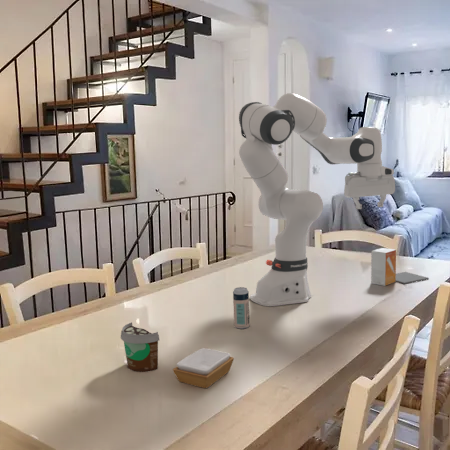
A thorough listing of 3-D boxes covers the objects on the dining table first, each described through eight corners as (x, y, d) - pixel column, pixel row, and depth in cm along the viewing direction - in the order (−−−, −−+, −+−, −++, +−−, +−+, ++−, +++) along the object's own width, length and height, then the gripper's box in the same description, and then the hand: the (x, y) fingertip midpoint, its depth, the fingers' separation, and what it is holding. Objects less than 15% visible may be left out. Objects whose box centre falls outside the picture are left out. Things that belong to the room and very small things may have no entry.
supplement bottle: (246, 323, 161) (244, 286, 160) (252, 328, 157) (251, 289, 155) (231, 325, 160) (230, 288, 158) (237, 330, 155) (236, 291, 154)
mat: (404, 284, 199) (404, 282, 199) (381, 277, 209) (381, 276, 209) (428, 279, 204) (428, 277, 204) (405, 273, 215) (405, 271, 215)
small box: (385, 286, 197) (385, 252, 195) (370, 283, 201) (370, 250, 200) (396, 281, 202) (396, 249, 200) (381, 279, 207) (381, 247, 205)
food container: (113, 365, 134) (110, 328, 132) (133, 357, 138) (130, 321, 136) (141, 378, 125) (138, 339, 123) (161, 370, 129) (159, 332, 128)
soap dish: (207, 392, 117) (206, 371, 116) (172, 384, 122) (171, 363, 121) (234, 371, 128) (234, 352, 127) (201, 364, 133) (200, 345, 132)
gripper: (349, 173, 186) (350, 211, 188) (397, 169, 193) (397, 206, 195) (340, 172, 192) (341, 209, 194) (387, 169, 199) (387, 205, 201)
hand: (369, 207), depth 195 cm, fingers open, 8 cm apart
